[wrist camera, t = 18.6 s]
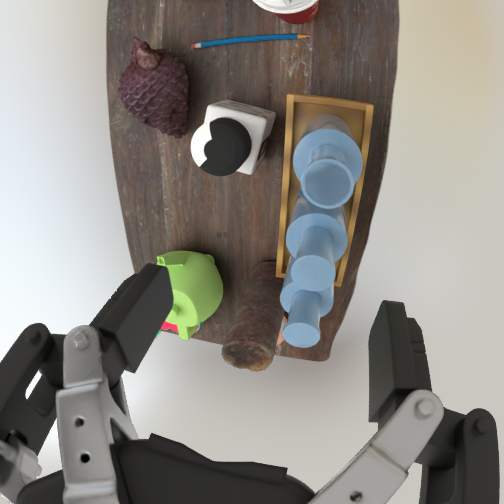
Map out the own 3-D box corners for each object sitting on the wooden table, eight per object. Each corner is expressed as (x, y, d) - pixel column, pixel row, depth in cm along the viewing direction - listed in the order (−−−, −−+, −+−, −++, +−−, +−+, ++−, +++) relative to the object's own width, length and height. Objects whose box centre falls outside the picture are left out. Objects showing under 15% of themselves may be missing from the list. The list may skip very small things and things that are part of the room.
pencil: (192, 44, 36) (190, 44, 35) (310, 34, 32) (310, 33, 31) (193, 49, 36) (191, 48, 36) (310, 39, 32) (310, 38, 32)
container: (276, 112, 40) (257, 127, 29) (263, 159, 44) (240, 191, 34) (226, 98, 40) (189, 110, 30) (215, 145, 45) (178, 172, 34)
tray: (296, 90, 37) (286, 94, 29) (363, 98, 36) (373, 105, 27) (285, 239, 51) (275, 277, 43) (340, 247, 49) (340, 286, 41)
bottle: (301, 157, 34) (281, 217, 22) (304, 110, 31) (287, 137, 18) (349, 163, 33) (361, 228, 20) (355, 116, 30) (376, 149, 17)
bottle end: (288, 231, 40) (264, 316, 27) (330, 224, 38) (326, 311, 25) (297, 266, 43) (279, 355, 30) (337, 261, 41) (334, 352, 28)
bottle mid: (292, 178, 36) (268, 248, 23) (339, 170, 34) (343, 237, 21) (303, 219, 39) (286, 304, 26) (347, 213, 37) (352, 297, 24)
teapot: (156, 224, 56) (120, 262, 45) (222, 228, 52) (194, 271, 42) (176, 303, 66) (152, 344, 56) (233, 311, 63) (214, 357, 53)
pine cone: (221, 121, 42) (172, 157, 38) (183, 122, 48) (140, 154, 44) (176, 17, 30) (114, 44, 26) (142, 36, 36) (89, 63, 32)
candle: (262, 249, 53) (229, 335, 37) (300, 267, 53) (282, 357, 37) (247, 279, 58) (213, 362, 42) (282, 295, 58) (259, 381, 42)
